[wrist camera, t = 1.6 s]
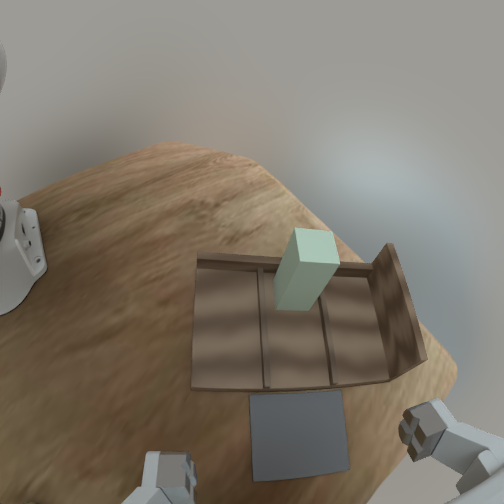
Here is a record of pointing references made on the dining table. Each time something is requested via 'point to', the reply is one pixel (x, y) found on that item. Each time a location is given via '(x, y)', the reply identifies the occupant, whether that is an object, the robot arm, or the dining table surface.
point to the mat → (297, 435)
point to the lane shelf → (301, 327)
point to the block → (305, 269)
